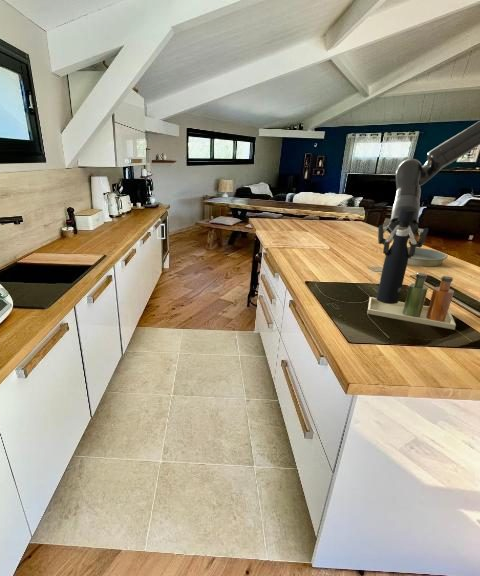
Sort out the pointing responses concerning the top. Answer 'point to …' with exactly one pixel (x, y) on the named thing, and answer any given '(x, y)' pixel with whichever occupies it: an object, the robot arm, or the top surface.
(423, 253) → the cake pan
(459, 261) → the top surface
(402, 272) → the dark grey bottle
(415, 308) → the olive bottle
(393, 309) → the tray
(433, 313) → the amber oil bottle
